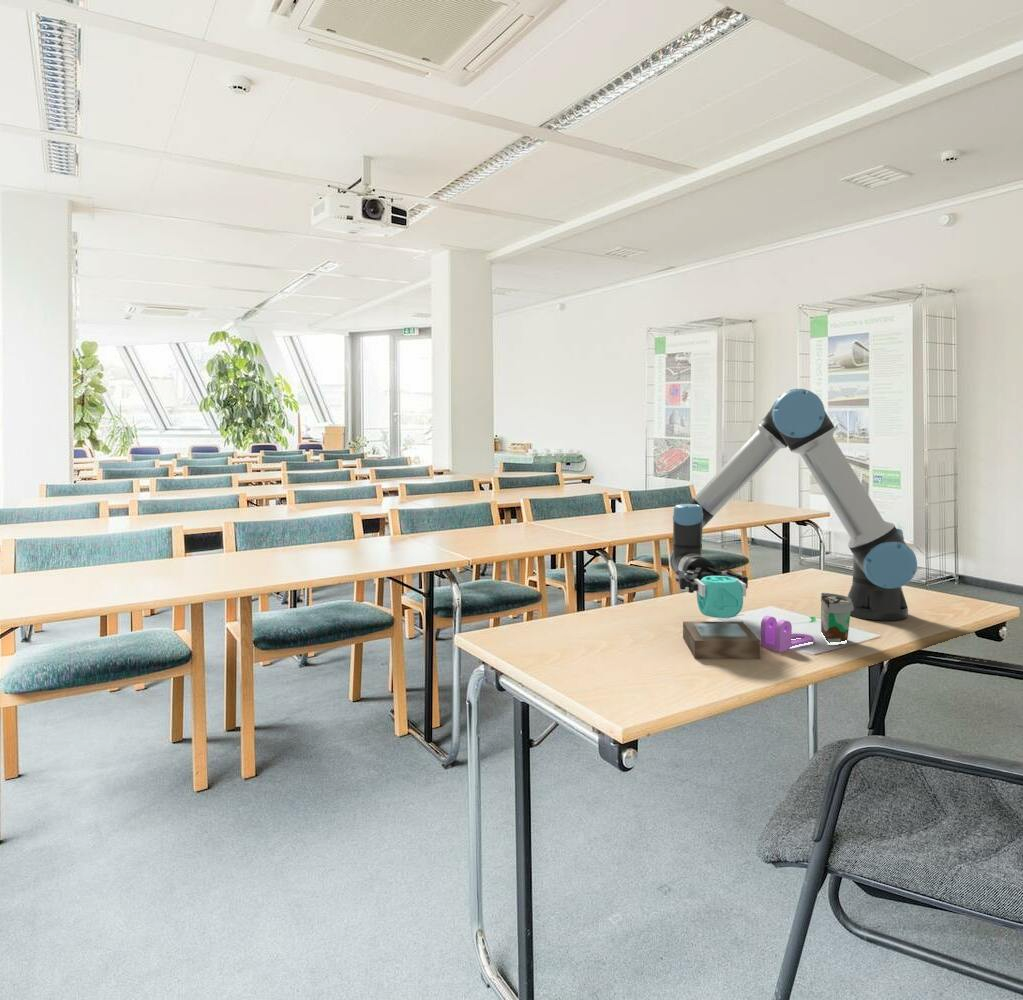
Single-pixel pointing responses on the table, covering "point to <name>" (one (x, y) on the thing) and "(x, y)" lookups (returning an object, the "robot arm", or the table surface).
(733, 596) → the decorative dice
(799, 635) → the bracket
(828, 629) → the food container
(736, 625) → the plinth
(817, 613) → the table surface
